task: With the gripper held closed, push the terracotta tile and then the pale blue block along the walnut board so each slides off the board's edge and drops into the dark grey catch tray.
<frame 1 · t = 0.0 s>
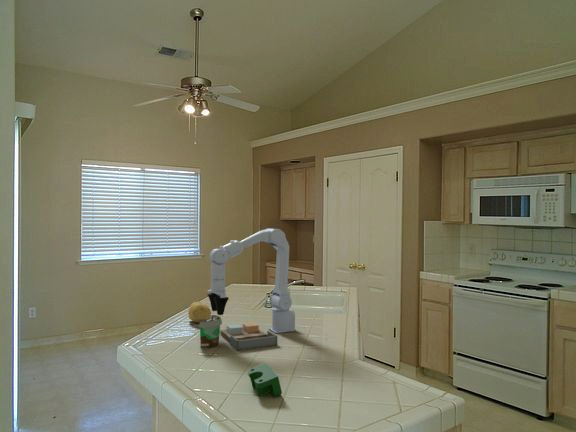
hand: (217, 312, 169), 10 cm above the worktop, tool pointing down, fingers open, 7 cm apart
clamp: (264, 392, 118), on the worktop
potato: (199, 322, 194), on the worktop
terracotta tile: (250, 330, 173), point 2 cm above the worktop, touching walnut board
walnut board: (243, 337, 171), on the worktop
catch tray: (253, 344, 161), on the worktop
pale blue block: (234, 332, 170), point 2 cm above the worktop, touching walnut board
food container: (213, 345, 160), on the worktop
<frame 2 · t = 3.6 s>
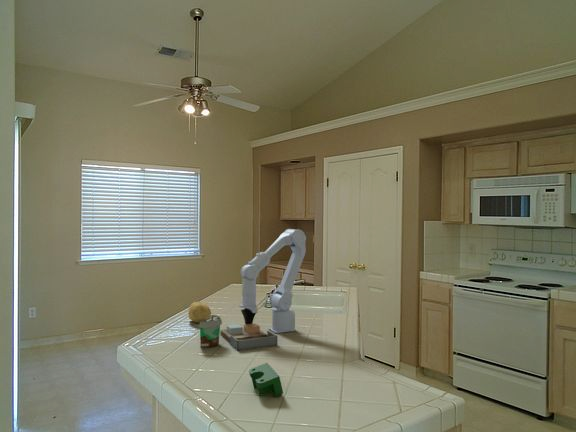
hand: (248, 326, 175), 3 cm above the worktop, tool pointing down, fingers closed
terracotta tile: (251, 331, 172), point 2 cm above the worktop, touching gripper
everything else where it was.
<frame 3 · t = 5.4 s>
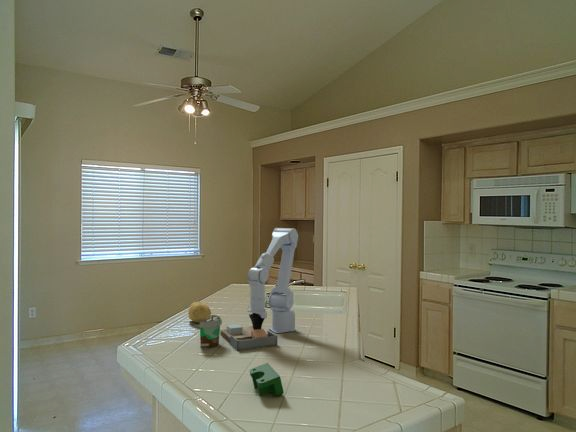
hand: (257, 332, 167), 3 cm above the worktop, tool pointing down, fingers closed
terracotta tile: (258, 338, 164), point 1 cm above the worktop, tilted 20°, touching gripper, walnut board
everything else where it was.
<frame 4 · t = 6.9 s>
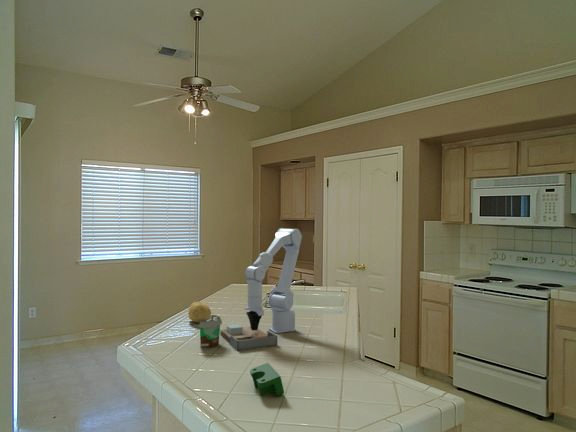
hand: (254, 329, 170), 3 cm above the worktop, tool pointing down, fingers closed
terracotta tile: (259, 341, 164), resting on catch tray
everything else where it was.
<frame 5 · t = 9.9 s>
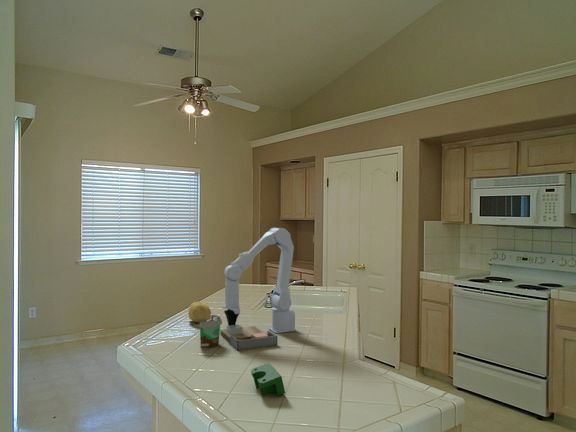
hand: (231, 328, 173), 3 cm above the worktop, tool pointing down, fingers closed
pale blue block: (234, 332, 170), point 2 cm above the worktop, touching gripper, walnut board
everything else where it was.
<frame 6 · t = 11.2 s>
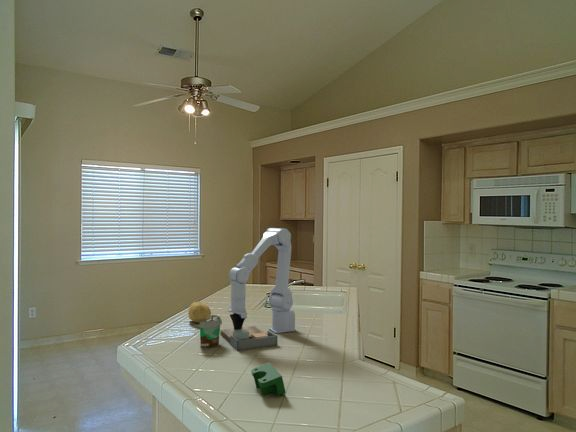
hand: (237, 332, 167), 3 cm above the worktop, tool pointing down, fingers closed
pale blue block: (240, 337, 163), point 2 cm above the worktop, touching gripper, walnut board
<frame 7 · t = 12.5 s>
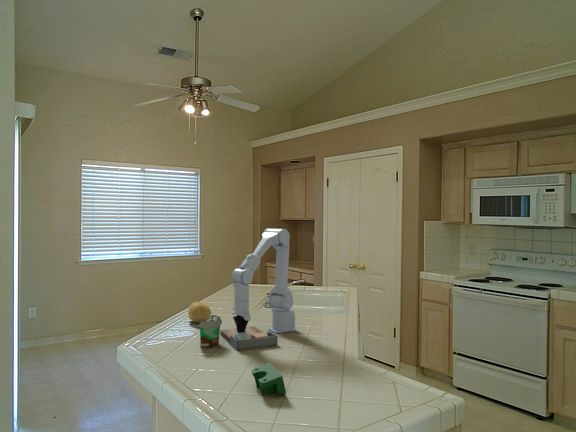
hand: (241, 335, 163), 3 cm above the worktop, tool pointing down, fingers closed
pale blue block: (242, 341, 161), point 1 cm above the worktop, tilted 16°, touching catch tray, gripper
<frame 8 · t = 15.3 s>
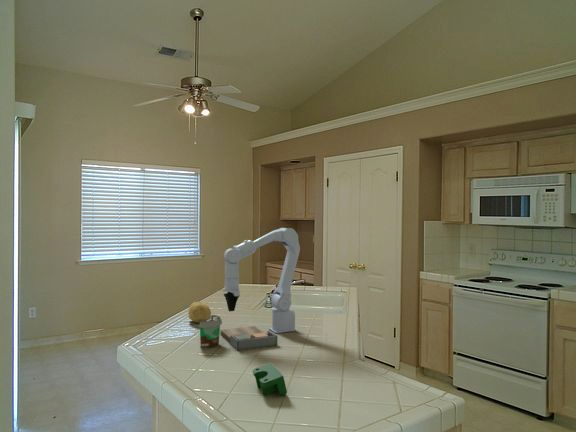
hand: (231, 310, 174), 10 cm above the worktop, tool pointing down, fingers closed
pale blue block: (242, 343, 161), resting on catch tray
at the end: terracotta tile inside the target area on the catch tray (3.6 cm from its centre), point 0.5 cm above the catch tray's base; pale blue block inside the target area on the catch tray (4.2 cm from its centre), point 0.5 cm above the catch tray's base; terracotta tile touching catch tray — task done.
